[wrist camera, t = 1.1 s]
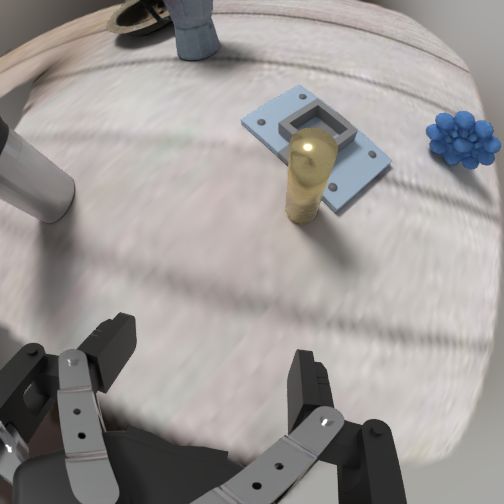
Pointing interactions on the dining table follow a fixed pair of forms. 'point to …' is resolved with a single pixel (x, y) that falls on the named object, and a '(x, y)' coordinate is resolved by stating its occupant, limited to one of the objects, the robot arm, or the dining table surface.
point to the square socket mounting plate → (324, 117)
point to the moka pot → (190, 27)
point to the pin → (308, 172)
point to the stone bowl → (137, 18)
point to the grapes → (463, 140)
